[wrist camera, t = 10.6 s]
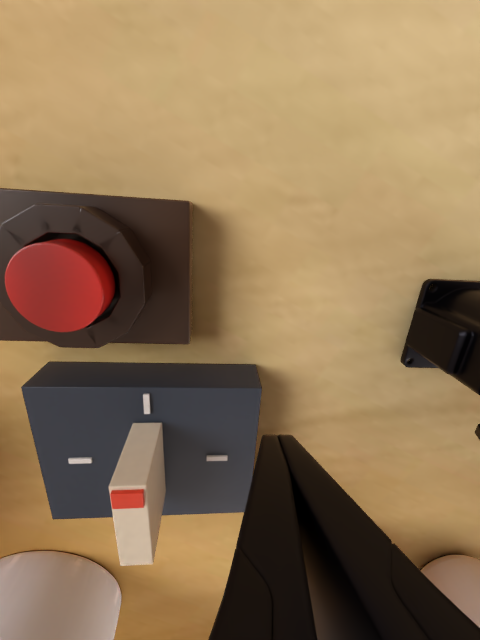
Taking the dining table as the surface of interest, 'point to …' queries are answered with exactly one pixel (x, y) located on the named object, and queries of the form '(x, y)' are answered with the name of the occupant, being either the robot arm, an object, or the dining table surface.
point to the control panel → (145, 407)
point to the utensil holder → (56, 598)
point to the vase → (458, 582)
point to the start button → (60, 284)
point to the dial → (139, 494)
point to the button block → (122, 256)
